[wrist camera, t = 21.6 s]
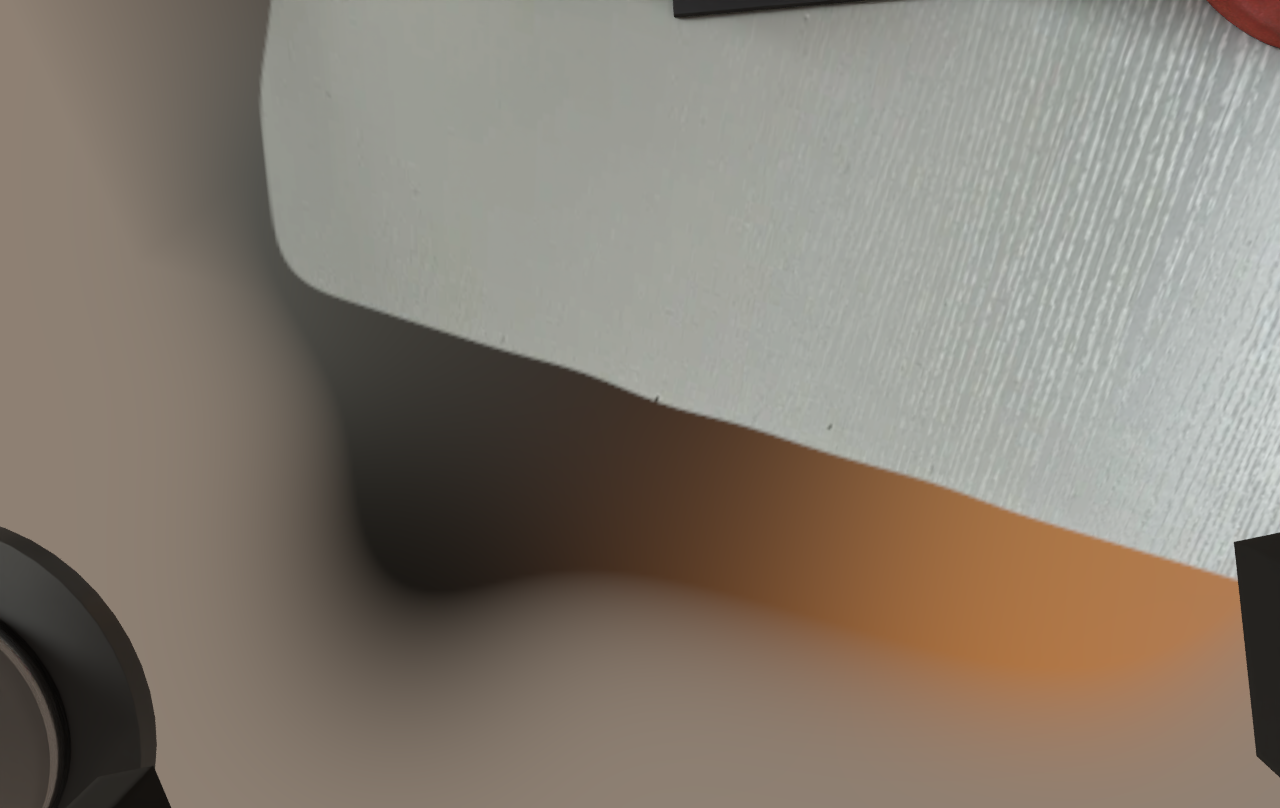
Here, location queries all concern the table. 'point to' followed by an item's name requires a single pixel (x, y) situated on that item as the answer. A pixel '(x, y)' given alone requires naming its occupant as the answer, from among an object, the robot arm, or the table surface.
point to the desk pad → (738, 5)
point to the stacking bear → (1253, 17)
